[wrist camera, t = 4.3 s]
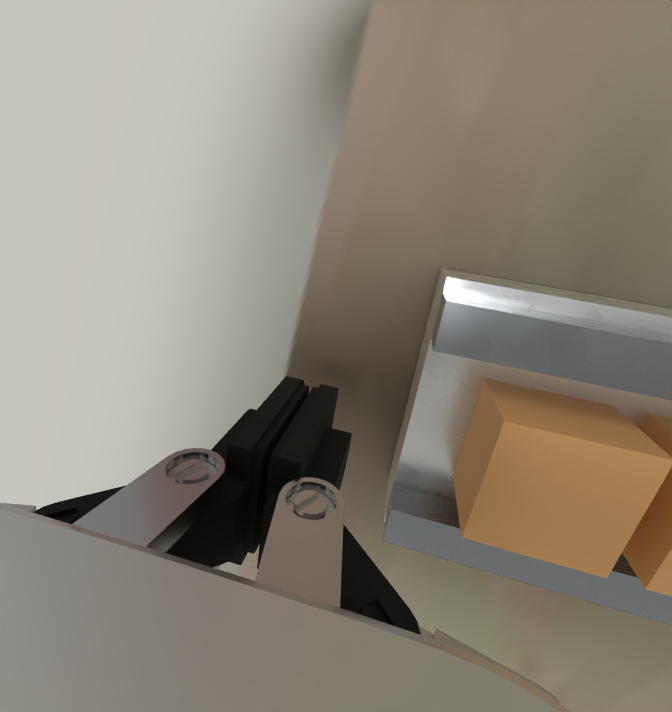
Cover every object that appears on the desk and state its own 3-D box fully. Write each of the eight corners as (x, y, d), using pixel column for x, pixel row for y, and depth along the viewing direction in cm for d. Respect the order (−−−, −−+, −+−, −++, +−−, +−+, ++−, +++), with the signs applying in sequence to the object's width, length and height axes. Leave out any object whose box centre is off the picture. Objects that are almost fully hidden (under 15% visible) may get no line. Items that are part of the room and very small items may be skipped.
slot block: (863, 342, 12) (1097, 400, 8) (710, 560, 16) (816, 679, 11) (441, 267, 14) (450, 283, 10) (388, 475, 18) (380, 551, 13)
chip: (613, 405, 12) (675, 460, 9) (566, 504, 13) (606, 578, 10) (484, 377, 12) (503, 420, 9) (452, 475, 14) (461, 537, 11)
